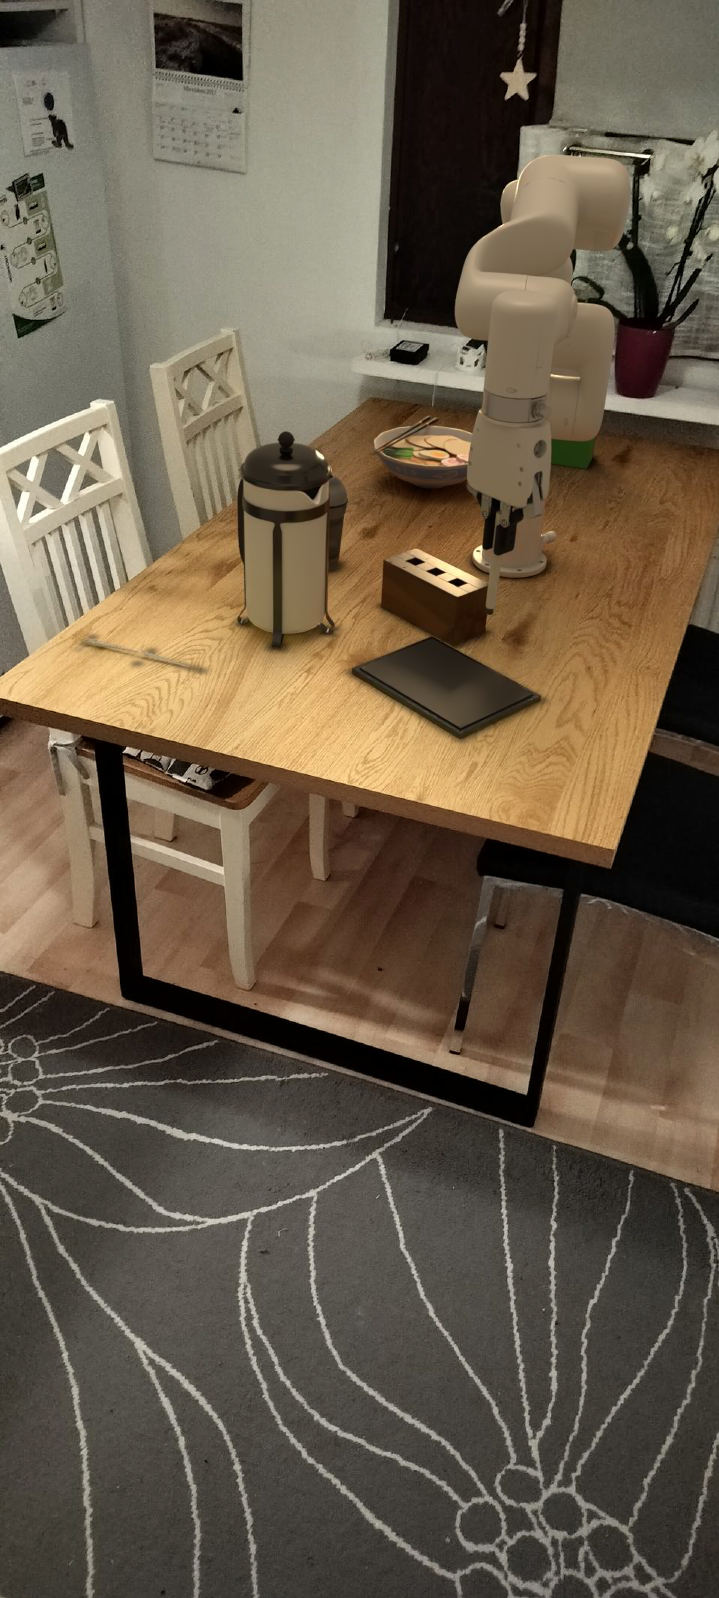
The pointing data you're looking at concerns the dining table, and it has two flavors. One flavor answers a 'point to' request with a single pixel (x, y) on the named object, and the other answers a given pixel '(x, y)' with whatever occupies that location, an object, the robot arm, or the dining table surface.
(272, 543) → the coffee press
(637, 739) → the dining table surface
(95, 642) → the stylus
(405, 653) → the tablet
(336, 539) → the beverage cup
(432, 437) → the ramen bowl
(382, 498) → the dining table surface
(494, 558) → the rod
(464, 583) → the pen block
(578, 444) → the hardback book
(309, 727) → the dining table surface
